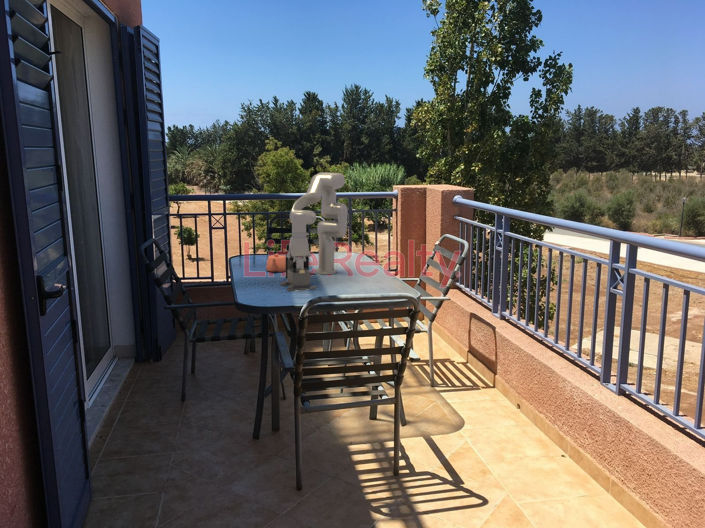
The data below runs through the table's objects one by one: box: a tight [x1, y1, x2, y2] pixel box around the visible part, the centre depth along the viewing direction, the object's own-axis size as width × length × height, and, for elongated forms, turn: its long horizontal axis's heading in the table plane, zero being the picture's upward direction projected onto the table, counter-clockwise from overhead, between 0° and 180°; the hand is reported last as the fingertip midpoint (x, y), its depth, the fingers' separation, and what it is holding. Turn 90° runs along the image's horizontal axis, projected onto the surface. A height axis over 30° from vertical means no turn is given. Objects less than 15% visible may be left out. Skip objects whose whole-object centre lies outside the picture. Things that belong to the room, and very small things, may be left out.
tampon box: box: [285, 252, 310, 279], centre depth 325 cm, size 11×9×15 cm
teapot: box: [265, 253, 286, 273], centre depth 341 cm, size 12×18×10 cm, turn 175°
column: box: [294, 257, 304, 272], centre depth 304 cm, size 5×4×16 cm
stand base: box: [280, 268, 318, 292], centre depth 305 cm, size 16×16×10 cm
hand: (298, 268), depth 304 cm, fingers closed on column, 4 cm apart
